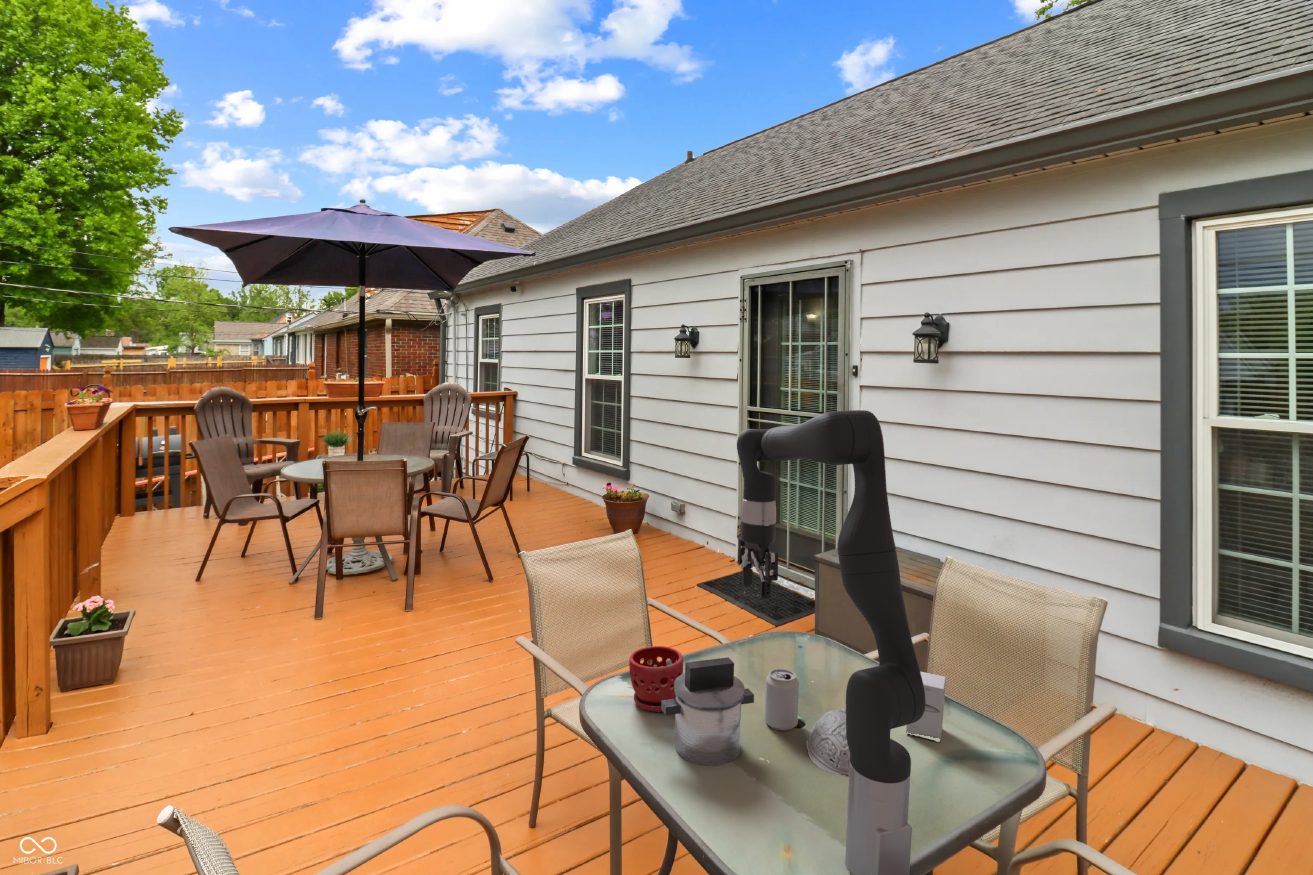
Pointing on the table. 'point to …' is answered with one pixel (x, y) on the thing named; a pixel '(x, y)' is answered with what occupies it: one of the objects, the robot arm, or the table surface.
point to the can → (781, 699)
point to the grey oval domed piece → (830, 742)
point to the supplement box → (931, 707)
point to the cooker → (706, 731)
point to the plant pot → (654, 675)
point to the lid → (709, 685)
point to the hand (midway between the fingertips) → (755, 591)
